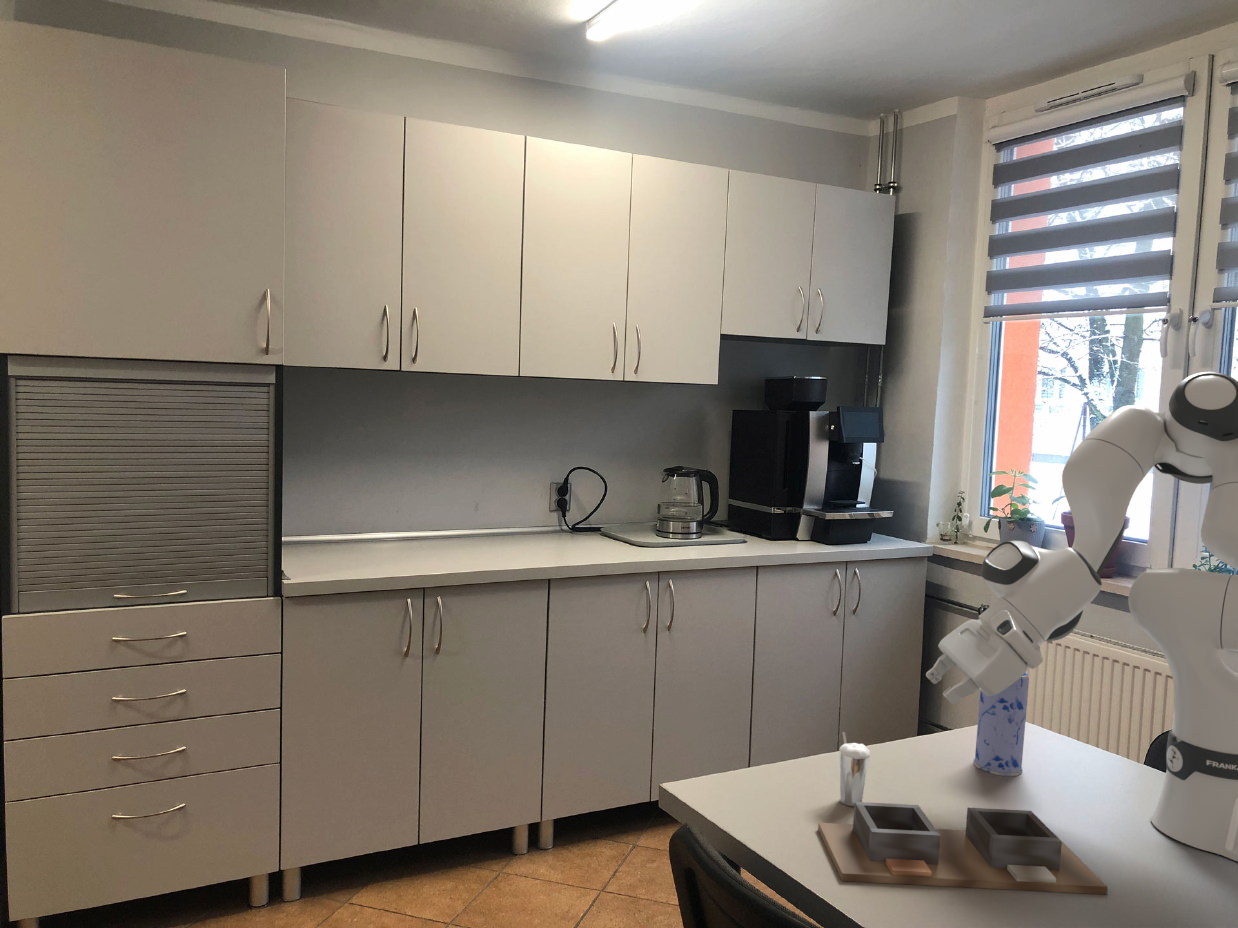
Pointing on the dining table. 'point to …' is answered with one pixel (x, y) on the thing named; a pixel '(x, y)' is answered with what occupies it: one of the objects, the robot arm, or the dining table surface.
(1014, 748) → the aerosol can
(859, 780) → the milkshake
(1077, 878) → the port board
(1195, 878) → the dining table surface
